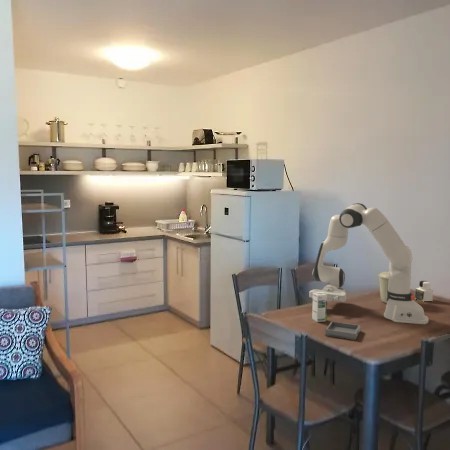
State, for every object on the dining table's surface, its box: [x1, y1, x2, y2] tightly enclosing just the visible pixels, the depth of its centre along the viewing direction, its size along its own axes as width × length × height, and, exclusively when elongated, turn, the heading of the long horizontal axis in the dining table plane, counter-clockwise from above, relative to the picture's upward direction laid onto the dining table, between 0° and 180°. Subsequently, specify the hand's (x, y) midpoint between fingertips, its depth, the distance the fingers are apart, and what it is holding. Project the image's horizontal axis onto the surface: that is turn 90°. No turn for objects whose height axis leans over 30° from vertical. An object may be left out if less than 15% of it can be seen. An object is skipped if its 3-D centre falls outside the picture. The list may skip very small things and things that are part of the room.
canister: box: [377, 270, 389, 304], centre depth 279 cm, size 18×18×21 cm
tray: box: [324, 320, 361, 341], centre depth 224 cm, size 14×14×3 cm
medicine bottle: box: [414, 280, 434, 303], centre depth 285 cm, size 7×7×12 cm
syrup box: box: [311, 292, 328, 323], centre depth 243 cm, size 6×6×14 cm
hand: (324, 298), depth 254 cm, fingers open, 8 cm apart
